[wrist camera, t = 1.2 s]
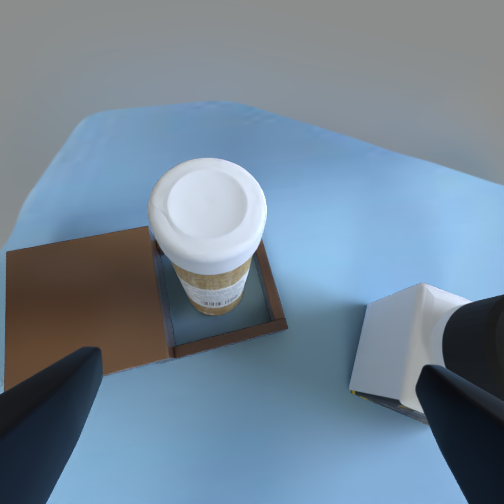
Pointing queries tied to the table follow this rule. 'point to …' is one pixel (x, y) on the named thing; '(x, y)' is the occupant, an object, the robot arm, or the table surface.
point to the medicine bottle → (427, 345)
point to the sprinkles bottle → (209, 228)
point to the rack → (104, 305)
